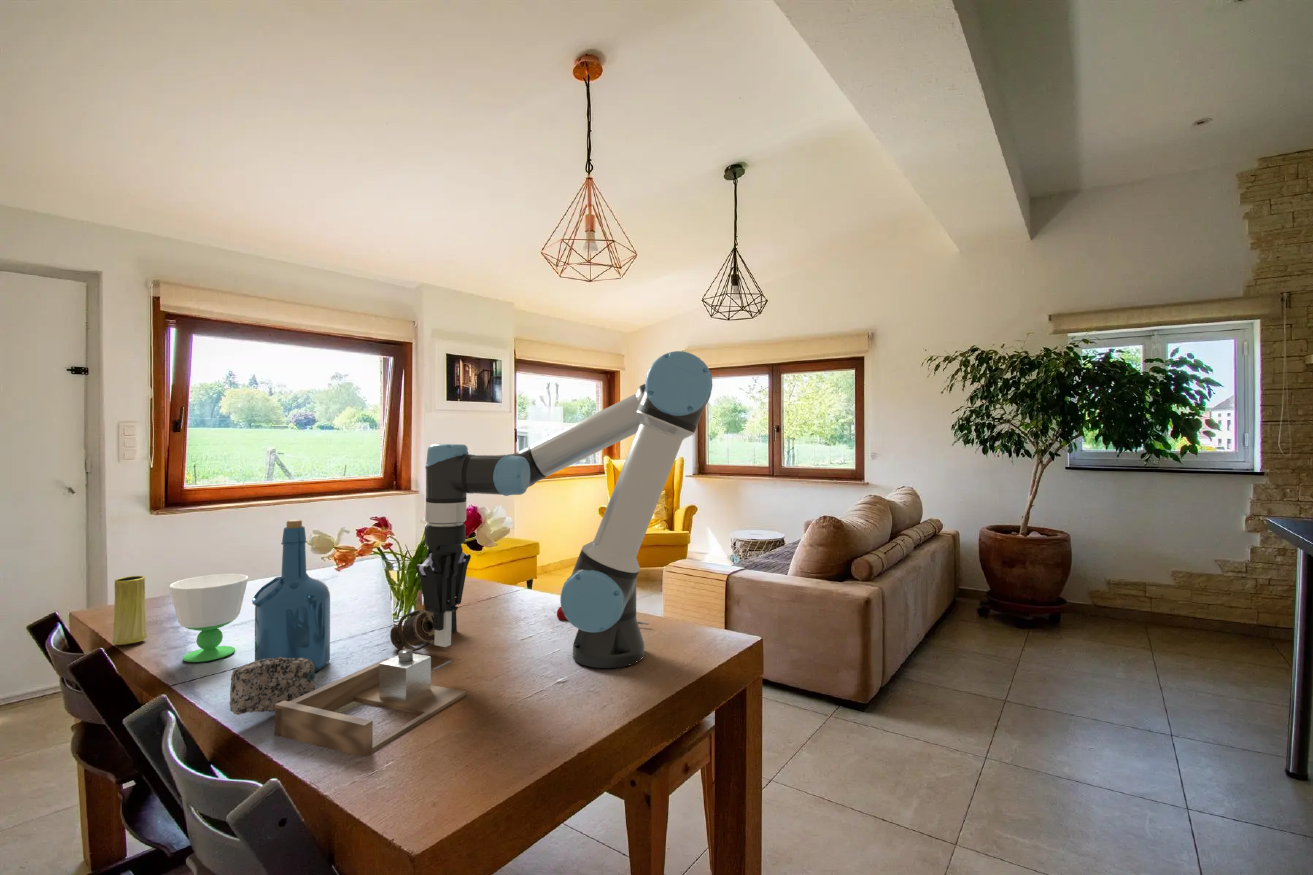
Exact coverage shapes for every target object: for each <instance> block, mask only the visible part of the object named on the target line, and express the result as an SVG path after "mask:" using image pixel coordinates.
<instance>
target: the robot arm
mask: <svg viewBox="0 0 1313 875" xmlns="http://www.w3.org/2000/svg"><path fill="white" fill-rule="evenodd" d="M712 390H713V377H712V373H711V370H710V369H709V366H707V364H706V363H705V362H704V360H702V359H701V358H700V357H699V356H697V355H695V354H693V353H690V352H687V351H681V350H676V351H674V350H673V351H670V352H667V353H664V354H662V355H661V356H659V357H658V358H657V359H656V360H655V361H653V362H652V364H651V365H650V367H649V368H648V371H647V372H646V376H645V382H644V383H642V384H641V385H638V388H637V391H636V393H634V394H632V395H630V396H628V397H626V398H624V399H622V400H620V401H618V402H616V403H614V404H612V405H610V406H608V407H606V408H604V409H602V410H600V411H598V412H596V413H594V414H592V415H590V416H588V417H585V418H583V419H581V420H580V421H577V422H575V423H573V424H572V425H569V426H568V427H565V428H563V429H561V430H559V431H557V432H555V433H554V434H553V433H552V434H551V435H548V436H547V437H545V438H543V439H541V440H539V441H537V442H535V443H533V444H531V445H529V446H526V447H525V448H522V449H521V450H518V451H516V452H514V453H510V454H509V453H508V454H496V455H494V454H493V455H491V454H489V455H488V454H487V455H486V454H485V455H483V454H482V455H480V454H479V455H478V454H477V455H476V454H469V448H468V446H467V445H466V444H458V443H433V444H431V445H429V446H428V448H427V453H426V462H425V463H426V465H425V467H424V468H425V513H424V514H425V515H424V516H425V517H424V519H425V520H424V521H425V523H427V524H426V525H425V526H424V541H423V542H424V544H425V545H426V546H427V552H426V554H425V560H424V561H423V563H422V564H420V563H418V564H416V567H415V570H416V572H417V574H418V576H419V580H420V587H421V593H422V600H423V599H424V606H425V611H428V612H433V614H434V625H433V628H434V630H435V642H434V644H433V645H434V646H436V647H437V646H438V647H443V648H447V647H449V646H451V645H452V633H451V626H452V623H453V610H454V611H456V612H457V611H458V609H459V606H457V605H460V604H461V603H462V599H463V594H464V593H463V592H464V589H465V588H464V587H465V582H466V576H467V570H468V566H469V563H470V561H471V557H472V556H471V554H468V553H465V552H464V550H463V546H462V545H463V544H464V543H465V542H466V540H467V539H466V538H467V536H466V534H467V529H466V528H467V526H466V524H465V521H467V494H469V495H470V494H473V495H474V494H477V495H478V494H481V495H498V496H500V495H503V496H505V497H508V496H518V495H519V496H521V495H523V494H525V493H526V492H527V491H528V490H527V489H528V488H530V487H532V486H533V485H535V484H537V482H539V481H541V480H543V479H545V478H547V477H549V476H551V475H553V474H555V473H557V472H559V471H561V470H563V469H565V468H568V467H569V466H572V465H574V464H575V463H578V462H580V461H582V460H584V459H586V458H588V457H590V456H593V455H594V454H596V453H598V452H600V451H603V450H605V449H607V448H608V447H611V446H613V445H615V444H617V443H620V442H621V441H623V440H625V439H627V438H629V437H632V436H634V438H633V441H632V443H631V446H630V448H629V451H628V453H627V456H626V458H625V461H624V463H623V465H622V468H621V471H620V473H619V475H618V478H617V481H616V483H615V487H614V488H613V491H612V493H611V496H610V499H609V501H608V503H607V506H606V509H605V511H604V513H603V516H602V519H601V521H600V524H599V527H598V529H597V532H596V534H595V537H594V538H593V540H592V541H590V542H589V543H586V544H584V545H583V546H582V548H581V550H580V552H579V555H578V558H577V560H576V563H575V565H574V567H573V570H572V573H571V575H570V576H569V577H568V578H567V579H566V581H564V584H563V586H562V588H561V592H560V598H559V600H560V607H561V608H562V611H563V613H564V615H565V617H566V618H567V620H566V621H567V622H569V624H571V625H572V626H573V627H574V628H577V631H576V634H575V639H574V640H573V643H572V644H573V645H572V658H573V660H574V661H575V662H576V663H578V664H581V665H583V666H586V667H589V668H590V667H591V668H597V669H615V668H616V667H617V668H622V667H621V666H623V667H627V665H628V666H630V665H629V664H631V665H634V664H636V663H637V662H636V661H638V662H640V661H641V660H642V659H643V658H644V657H645V642H644V638H643V634H642V632H641V629H640V626H639V625H640V624H638V622H639V621H638V620H637V577H638V574H639V572H640V570H641V567H640V564H639V561H638V559H637V556H638V555H639V554H638V553H639V551H640V548H641V545H642V543H643V541H644V538H645V536H646V533H647V530H648V528H649V526H650V523H651V521H652V518H653V515H654V514H655V510H656V508H657V505H658V503H659V500H660V498H661V495H662V494H663V491H664V488H665V485H666V483H667V481H668V478H669V476H670V473H671V471H672V468H673V465H674V463H675V461H676V458H677V455H678V453H679V451H680V447H681V446H682V443H683V441H684V440H685V439H687V438H689V437H692V436H694V434H695V432H696V430H697V427H698V425H699V422H700V420H701V418H702V414H703V412H704V410H705V407H706V405H708V402H709V400H710V398H711V395H712ZM439 606H440V607H439ZM643 656H644V657H643ZM642 657H643V658H642ZM641 658H642V659H641ZM640 659H641V660H640ZM639 660H640V661H639ZM635 662H636V663H635ZM633 663H634V664H633ZM617 668H616V669H617Z"/></svg>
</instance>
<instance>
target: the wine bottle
mask: <svg viewBox="0 0 1313 875" xmlns="http://www.w3.org/2000/svg"><path fill="white" fill-rule="evenodd" d="M307 542H308V541H307V535H306V529H305V526H303V520H302V519H289V520H286V526H284V528H283V533H282V540H281V545H282V554H281V555H282V558H281V575H280V576H276V577H275V578H273V579H272V580H270V581H269V582H267V583H266V584H264V585H263V586H262V587H260V589H258V590H257V592H256V593H255V594H254V596H253V597H252V600H251V602H252V605H253V606H254V661H257V660H262V659H267V658H278V657H282V658H300V657H301V658H304V659H308V660H312V662H313V664H314V672H318V671H320V670H321V669H323V668H324V667H326V666H327V665H329V662H330V660H331V591H330V589H329V588H328V586H327V584H326V583H325V582H323V581H321V580H319V579H316V578H313V577H311V576H310V575H309V574H308V573H307V554H306V553H307V551H306V544H307Z"/></svg>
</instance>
